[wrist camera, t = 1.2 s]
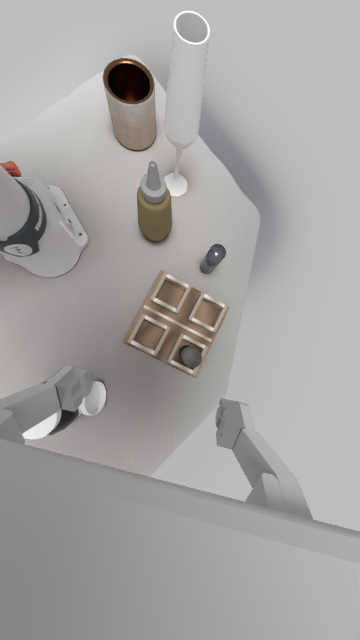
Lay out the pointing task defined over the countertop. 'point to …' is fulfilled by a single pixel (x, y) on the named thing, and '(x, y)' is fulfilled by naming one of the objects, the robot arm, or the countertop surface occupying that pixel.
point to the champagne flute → (185, 89)
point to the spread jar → (70, 413)
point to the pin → (212, 258)
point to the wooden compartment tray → (176, 324)
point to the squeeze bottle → (154, 205)
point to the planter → (131, 102)
